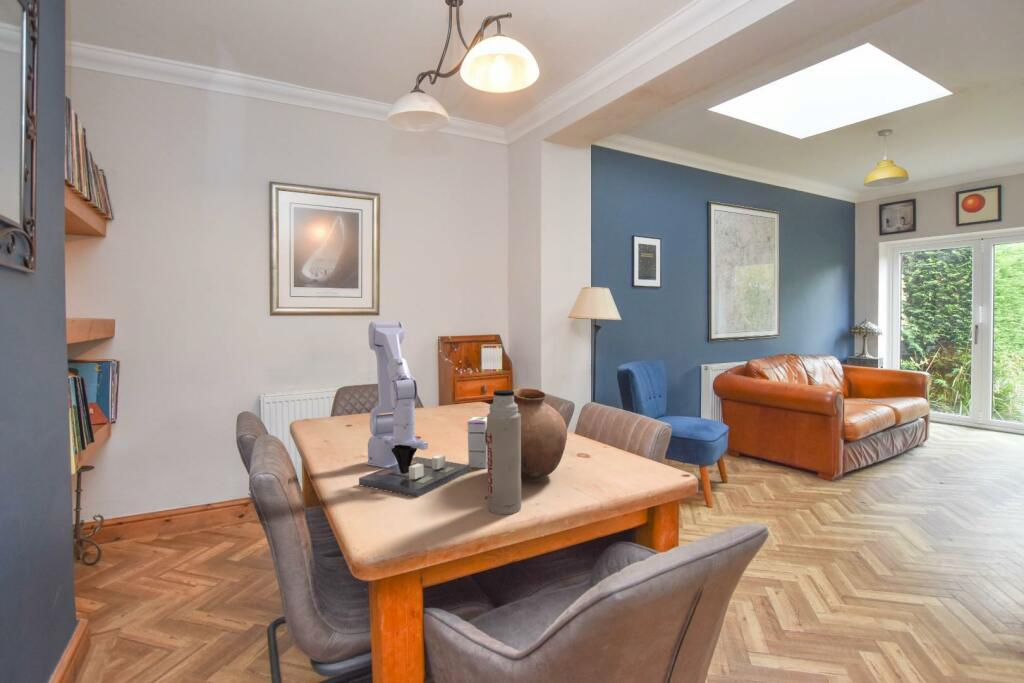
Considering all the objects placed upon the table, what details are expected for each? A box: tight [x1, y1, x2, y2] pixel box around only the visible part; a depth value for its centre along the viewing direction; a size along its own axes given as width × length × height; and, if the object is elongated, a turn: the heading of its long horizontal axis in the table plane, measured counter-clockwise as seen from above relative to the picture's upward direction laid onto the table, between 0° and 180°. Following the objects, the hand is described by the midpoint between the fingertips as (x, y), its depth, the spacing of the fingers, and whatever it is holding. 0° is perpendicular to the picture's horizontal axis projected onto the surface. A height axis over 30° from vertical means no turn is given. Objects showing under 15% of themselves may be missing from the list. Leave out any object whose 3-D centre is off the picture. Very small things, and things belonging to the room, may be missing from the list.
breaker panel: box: [358, 456, 471, 498], centre depth 144 cm, size 20×24×2 cm
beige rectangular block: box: [409, 463, 424, 479], centre depth 137 cm, size 2×4×3 cm, turn 151°
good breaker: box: [431, 454, 446, 469], centre depth 146 cm, size 2×4×3 cm, turn 151°
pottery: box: [485, 387, 568, 481], centre depth 143 cm, size 23×23×25 cm
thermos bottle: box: [486, 389, 522, 515], centre depth 120 cm, size 8×8×28 cm
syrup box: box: [467, 416, 487, 469], centre depth 156 cm, size 6×6×14 cm
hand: (404, 472), depth 139 cm, fingers closed
